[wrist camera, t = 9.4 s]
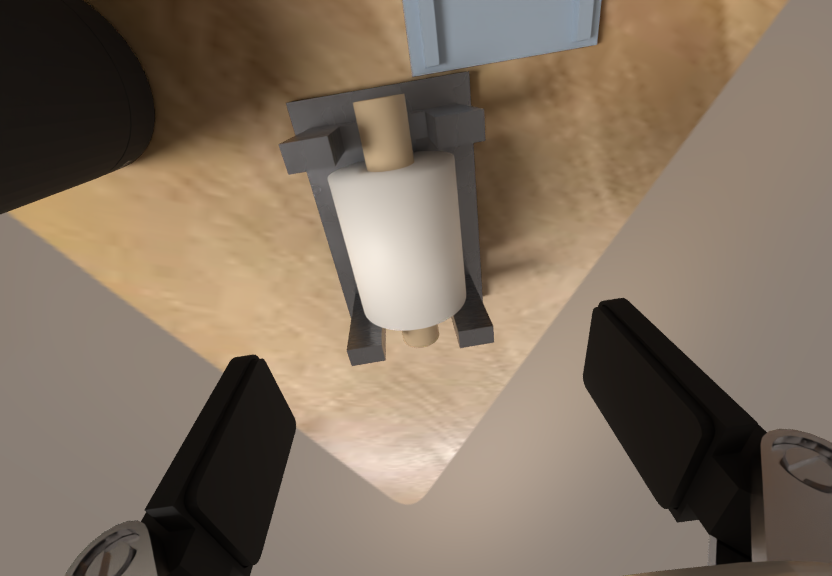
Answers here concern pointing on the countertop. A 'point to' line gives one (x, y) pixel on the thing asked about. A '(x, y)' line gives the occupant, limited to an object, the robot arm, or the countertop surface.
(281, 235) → the countertop surface
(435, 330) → the paper roll
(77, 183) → the pen holder
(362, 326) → the holder
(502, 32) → the rest
